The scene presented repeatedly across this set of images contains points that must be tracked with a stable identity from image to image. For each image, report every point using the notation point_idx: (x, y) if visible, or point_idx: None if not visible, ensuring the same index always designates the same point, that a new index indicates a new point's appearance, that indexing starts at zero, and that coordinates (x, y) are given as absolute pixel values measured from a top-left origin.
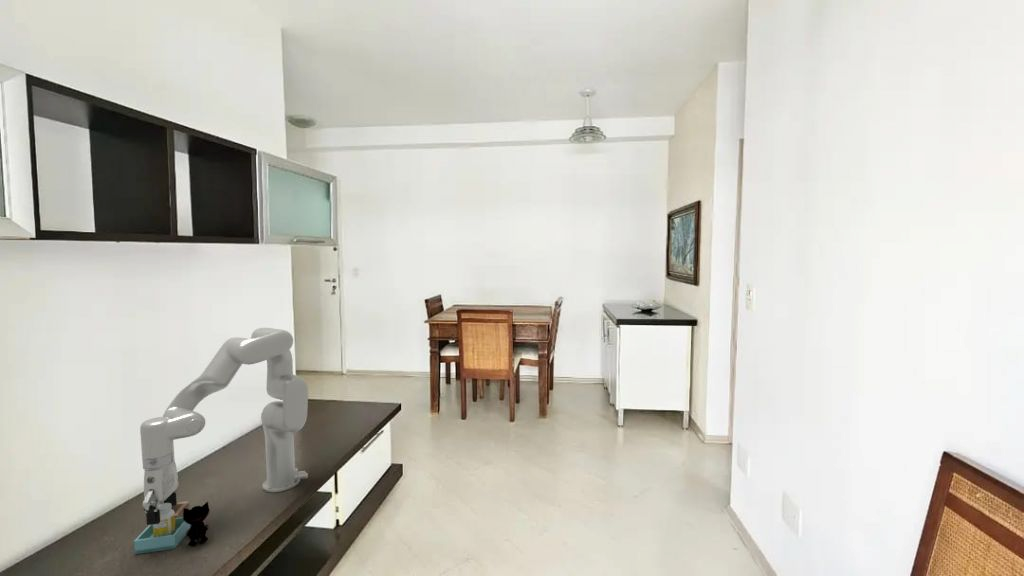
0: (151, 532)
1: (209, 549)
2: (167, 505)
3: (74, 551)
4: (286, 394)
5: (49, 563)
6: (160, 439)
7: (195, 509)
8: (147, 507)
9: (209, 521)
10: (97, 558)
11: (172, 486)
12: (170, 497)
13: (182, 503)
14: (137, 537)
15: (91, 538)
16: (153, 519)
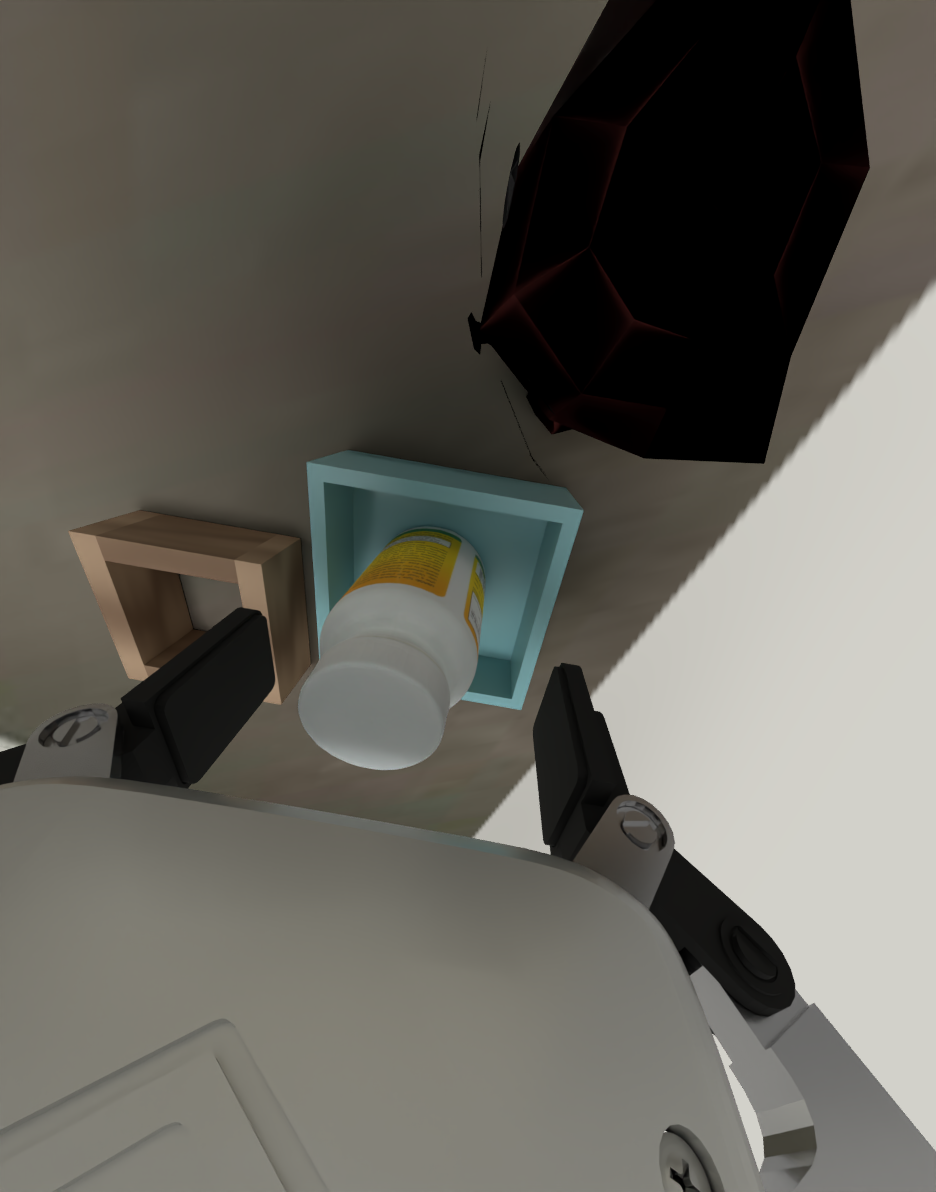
0: None
1: None
2: (363, 692)
3: (401, 813)
4: None
5: None
6: None
7: (786, 192)
8: (822, 1033)
9: (280, 328)
10: (480, 758)
11: (144, 1029)
12: (206, 707)
13: (105, 567)
14: (486, 703)
15: (330, 795)
16: (606, 739)
